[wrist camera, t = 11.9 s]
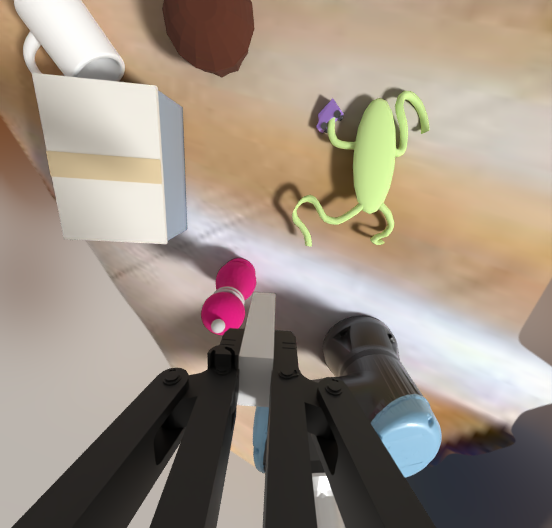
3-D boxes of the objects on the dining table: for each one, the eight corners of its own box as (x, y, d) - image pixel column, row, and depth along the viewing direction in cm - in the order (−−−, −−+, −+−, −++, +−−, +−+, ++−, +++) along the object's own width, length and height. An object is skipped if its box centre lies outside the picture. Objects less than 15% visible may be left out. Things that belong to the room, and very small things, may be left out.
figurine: (284, 235, 50) (285, 243, 44) (323, 73, 41) (330, 58, 36) (377, 256, 51) (389, 266, 45) (434, 102, 42) (456, 91, 37)
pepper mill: (250, 294, 53) (234, 361, 34) (216, 282, 52) (180, 343, 33) (263, 263, 51) (253, 316, 32) (228, 249, 50) (197, 295, 31)
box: (187, 229, 49) (167, 240, 40) (111, 223, 49) (76, 234, 40) (182, 107, 42) (158, 90, 34) (95, 100, 42) (49, 81, 34)
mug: (88, 0, 38) (41, -42, 31) (135, 68, 41) (102, 44, 33) (33, 54, 41) (-23, 27, 33) (81, 115, 43) (39, 103, 36)
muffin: (168, 52, 40) (133, 14, 31) (204, -25, 37) (178, -94, 28) (233, 103, 42) (220, 82, 33) (272, 33, 39) (270, -11, 30)
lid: (167, 242, 40) (165, 244, 40) (67, 237, 39) (63, 239, 38) (157, 87, 34) (155, 85, 33) (36, 75, 32) (30, 72, 31)
